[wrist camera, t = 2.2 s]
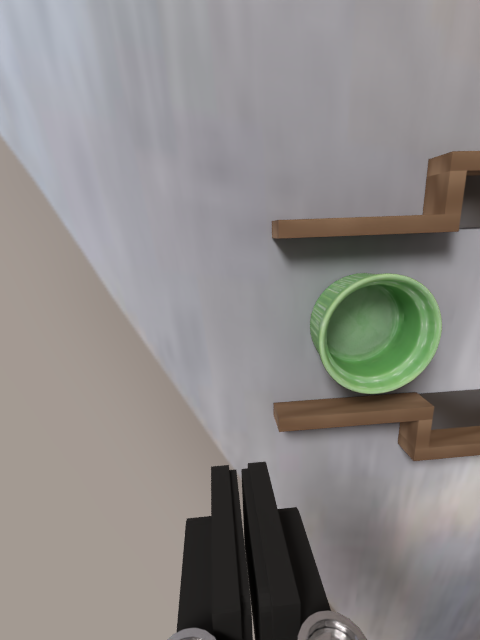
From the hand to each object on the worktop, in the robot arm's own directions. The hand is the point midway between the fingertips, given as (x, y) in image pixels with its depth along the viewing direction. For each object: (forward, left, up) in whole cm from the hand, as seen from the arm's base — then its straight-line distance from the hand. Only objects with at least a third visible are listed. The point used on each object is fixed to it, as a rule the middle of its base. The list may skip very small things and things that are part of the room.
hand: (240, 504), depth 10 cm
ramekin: (0, +11, -18) cm, 21 cm away
